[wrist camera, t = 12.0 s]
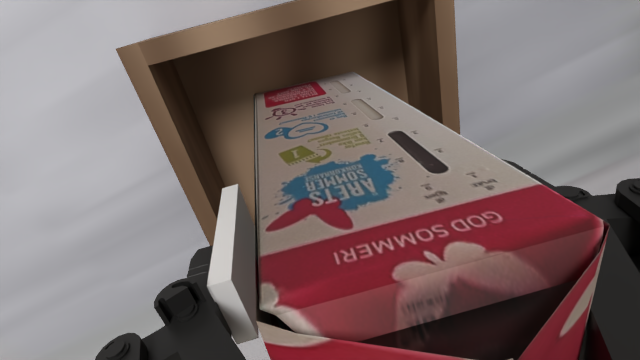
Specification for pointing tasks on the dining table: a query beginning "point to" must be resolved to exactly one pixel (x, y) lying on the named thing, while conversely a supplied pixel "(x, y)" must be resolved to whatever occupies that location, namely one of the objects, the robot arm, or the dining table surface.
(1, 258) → the dining table surface
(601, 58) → the dining table surface
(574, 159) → the dining table surface
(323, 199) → the juice carton
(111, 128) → the dining table surface
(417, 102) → the walled box
